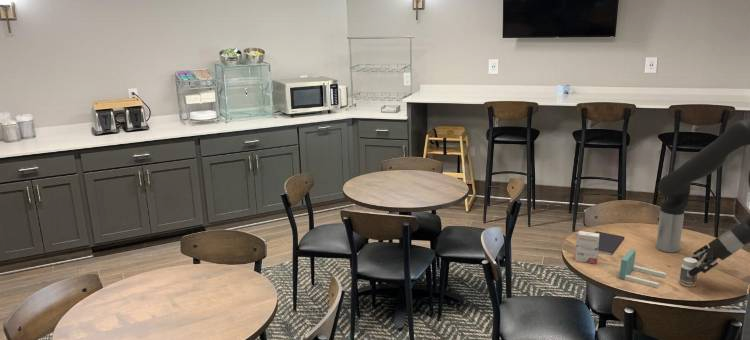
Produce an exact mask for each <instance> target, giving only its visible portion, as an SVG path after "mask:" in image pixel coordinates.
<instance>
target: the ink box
mask: <svg viewBox="0 0 750 340" xmlns="http://www.w3.org/2000/svg"><path fill="white" fill-rule="evenodd" d="M599 235H600V234H598V233H595V232H590V231H589V232H588V231H581V230H578V231H577V234H576V243H575V245H576V247H575V257H574V259H575V260H574V261H575V262H582V263H589V264H594V265H595V264H597V263H598V258H599V257H598V256H599V252H598V247H599Z"/></svg>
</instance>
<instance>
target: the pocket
mask: <svg viewBox="0 0 750 340" xmlns="http://www.w3.org/2000/svg"><path fill="white" fill-rule="evenodd" d="M635 261H636V249H632V248H631V249H629V250H628V251H627V252H626V254H625V255H624V256H623V257H622V258H621V260H620V267H619V268H620V270H619V279H621V280H623V281H628V282H632V283H636V284H639V285H644V286H646V287H647V286H648V287H651V288H655V289H658V288H659V286H660V283H659V282H656V281H652V280H650V279H649V280H648V279H644V278H639V277H635V276H632V275H630V274H631V273H632V271H635V272H640V273H644V274H647V275H650V276H655V277H659V278H663V279H664V278H666V276H667V272H663V271H658V270H655V269H650V268H647V267H642V266H638V265H635Z"/></svg>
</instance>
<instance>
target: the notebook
mask: <svg viewBox="0 0 750 340" xmlns="http://www.w3.org/2000/svg"><path fill="white" fill-rule="evenodd" d="M594 233H598V234H600V235H599V247H598V253H600V254H606V255H610V256H613V254H615V252H616V251H617V249H618V248H619V247H620V246H621V244H622V243H623V242H624V240H625V236H623V235H618V234H614V233H607V232H603V231H597V230H596V231H594Z"/></svg>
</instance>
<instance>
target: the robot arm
mask: <svg viewBox="0 0 750 340" xmlns="http://www.w3.org/2000/svg"><path fill="white" fill-rule="evenodd" d="M745 146H750V118H747V119H740V120H737V121H735V122H734V123H732V124H731V125H730V126H729V127H727V128H726V130H725V131H724V132H723V133H721V134H720V136H719V137H717V138H716V139H715V140H713V141H712V142H711V143H709V144H708V145H706V146H705V147H704V148H703V149H701V150H699V151H698V152H697V153H695V154H694V155H693V156H692V157H690V159H688V160H687V161H685V162H684V163H682V165H681V166H678V168H676V169H674V170H673V171H671V172H669V173H667V174H666V175H665V176H663V177H661V179H660V180H659V182H658V185H657V188H658V192H659V194H660V195H662V196H663V197H666V198H667V199H666V200H664V201H662V203H661V205H660V209H659V210H660V211H659V219H658V227H657V235H656V242H655V243H656V244H655V248H656V249H657V250H659V251H661V252H665V253H677V252H679V251H680V247H681V241H682V233H683V226H684V219H685V218H684V217H685V212H686V211H685V210H686V208H687V206H688V205H689V198H690V193H691V183H692V182H695V181H697V180H700V179H702V178H705V177H707V176H709V175H711V174H713V173H714V172H716V171H717V170H719V169H720V168H721V167H722V166H723V165H724V164H725V162H726V161H727V158H728V157H729V155H730V154H732V153H733V152H735V151H736V150H738V149H740V148H742V147H745ZM747 178H748V181H747V182H748V186H749V188H750V170H749V171H748V176H747ZM749 243H750V217H748V218H747V219H745V220H744V221H743V222H741V223H739V224H736V226H734V227H733V228H731V229H730V230H728V231H725V232H723V234H721V235H719V236H718V237H716V238H715V239H713V240H711V241H710V242H708V244H705V245H703V246H701V248H698V249H697V250H695V251H693V253H692V257H691V258H694V259H696V260H697V262H698V263H697V265H696V266H697V267H695V268H693V269H691V270H690V271H688V273H689V274H690V276H692V277H693V276H694V275H696V274H697V275H698V274H699V273H700V272H701V273H704V274H706V273H708V272H709V271H711V270H713V268H715V267H716V266H717V265H718V264H719V263H718V261H717V260H718V259H720V261H724V260H726V259H728V258H729V257H730V256H732V255H733V254H735V253H736V252H738V251H740V250H741V249H742V248H743V247H745V246H746V245H748V244H749Z"/></svg>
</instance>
